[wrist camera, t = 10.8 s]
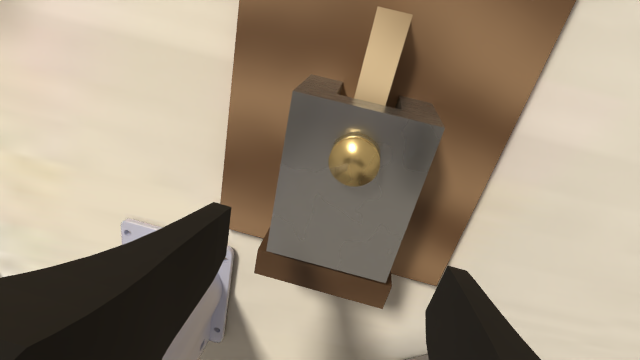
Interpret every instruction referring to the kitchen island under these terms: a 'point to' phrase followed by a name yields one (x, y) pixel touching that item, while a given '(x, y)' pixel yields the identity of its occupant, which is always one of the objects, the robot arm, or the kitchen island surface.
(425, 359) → the pillar candle
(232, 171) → the board
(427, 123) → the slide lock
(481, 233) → the kitchen island surface
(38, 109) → the kitchen island surface
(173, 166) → the kitchen island surface
